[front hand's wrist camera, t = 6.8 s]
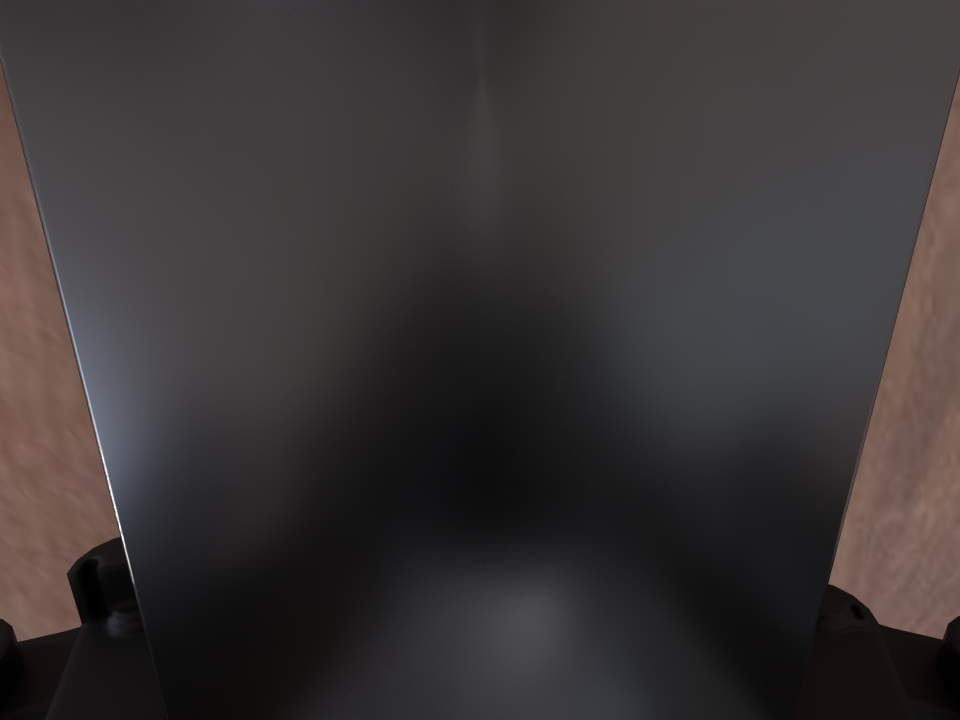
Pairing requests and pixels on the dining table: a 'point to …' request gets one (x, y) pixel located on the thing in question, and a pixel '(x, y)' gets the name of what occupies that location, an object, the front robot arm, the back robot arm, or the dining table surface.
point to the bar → (480, 333)
